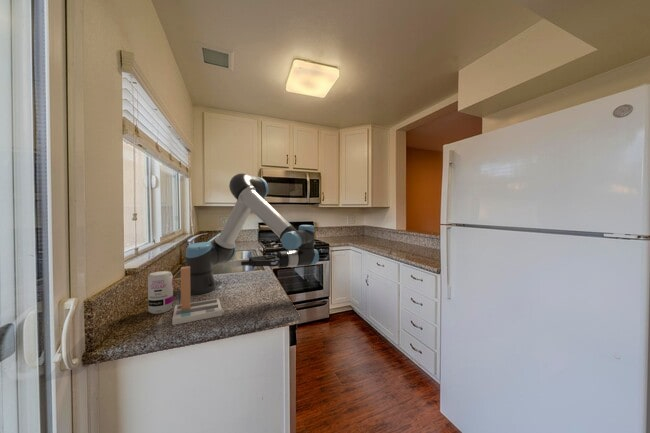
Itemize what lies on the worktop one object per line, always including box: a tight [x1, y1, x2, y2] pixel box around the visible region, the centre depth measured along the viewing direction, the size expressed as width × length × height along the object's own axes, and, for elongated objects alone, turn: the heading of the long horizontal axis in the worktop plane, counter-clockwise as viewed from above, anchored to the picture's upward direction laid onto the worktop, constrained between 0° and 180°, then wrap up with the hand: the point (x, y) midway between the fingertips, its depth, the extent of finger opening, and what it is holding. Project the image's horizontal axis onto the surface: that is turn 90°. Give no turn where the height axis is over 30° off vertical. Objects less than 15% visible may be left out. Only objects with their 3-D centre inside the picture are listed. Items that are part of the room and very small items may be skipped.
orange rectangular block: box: [180, 265, 192, 310], centre depth 90 cm, size 4×3×16 cm
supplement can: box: [147, 270, 174, 315], centre depth 95 cm, size 8×8×15 cm
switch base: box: [171, 298, 223, 326], centre depth 92 cm, size 14×16×3 cm
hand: (232, 263), depth 98 cm, fingers closed
